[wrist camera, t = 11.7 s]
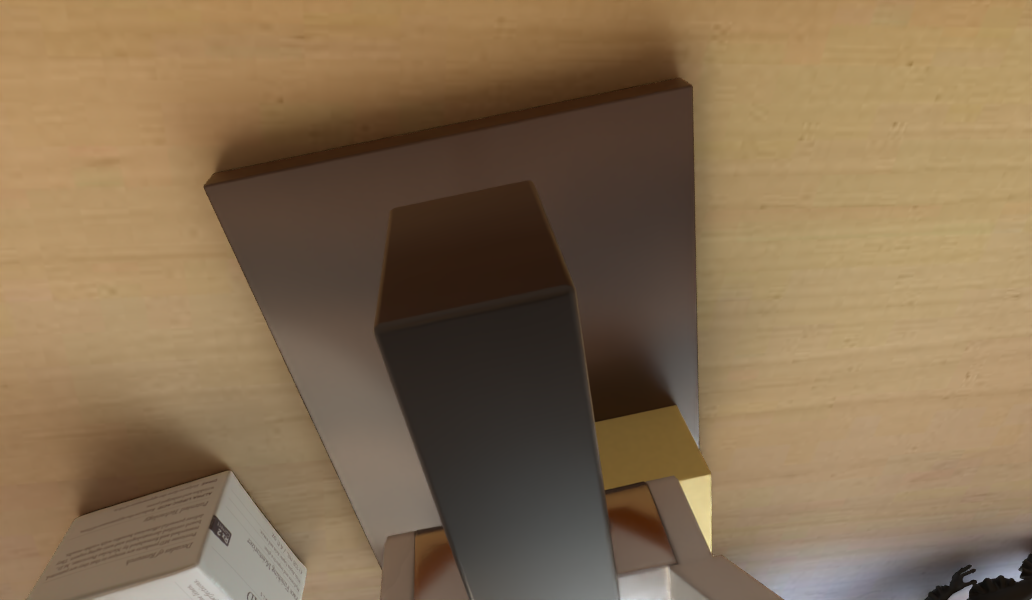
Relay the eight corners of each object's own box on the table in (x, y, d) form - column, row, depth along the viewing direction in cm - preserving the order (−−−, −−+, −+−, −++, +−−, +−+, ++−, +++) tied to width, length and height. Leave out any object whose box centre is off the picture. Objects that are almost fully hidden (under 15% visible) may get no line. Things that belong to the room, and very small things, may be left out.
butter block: (541, 432, 27) (557, 506, 24) (676, 404, 27) (711, 473, 24) (556, 508, 30) (573, 584, 27) (680, 482, 30) (712, 554, 27)
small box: (312, 567, 32) (294, 670, 28) (168, 609, 32) (127, 717, 28) (233, 464, 28) (197, 566, 23) (69, 514, 28) (3, 623, 24)
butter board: (212, 172, 21) (201, 185, 20) (680, 76, 21) (693, 84, 20) (392, 570, 33) (391, 591, 32) (693, 506, 33) (701, 525, 32)
